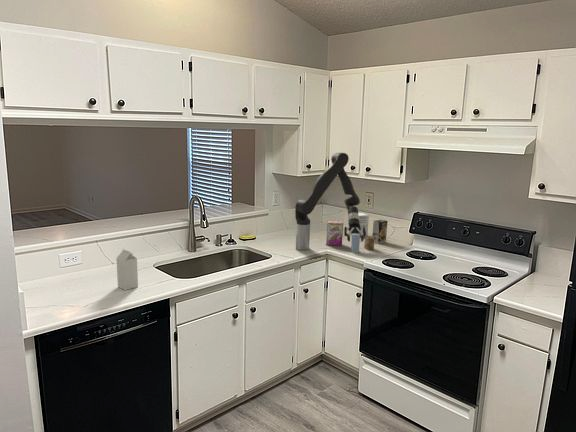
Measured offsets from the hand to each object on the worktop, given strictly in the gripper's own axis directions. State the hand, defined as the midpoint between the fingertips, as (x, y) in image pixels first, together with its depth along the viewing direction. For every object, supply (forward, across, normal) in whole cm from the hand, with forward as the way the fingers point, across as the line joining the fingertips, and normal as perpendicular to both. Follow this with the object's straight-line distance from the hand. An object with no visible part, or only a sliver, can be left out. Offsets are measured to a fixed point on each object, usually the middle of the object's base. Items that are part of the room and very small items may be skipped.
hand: (355, 241), depth 297 cm
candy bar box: (-7, -12, +17) cm, 22 cm away
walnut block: (0, +11, +11) cm, 15 cm away
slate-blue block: (+5, 0, +5) cm, 7 cm away
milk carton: (+58, -126, -48) cm, 147 cm away
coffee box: (-14, +22, +24) cm, 36 cm away
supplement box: (-28, +11, +39) cm, 49 cm away
